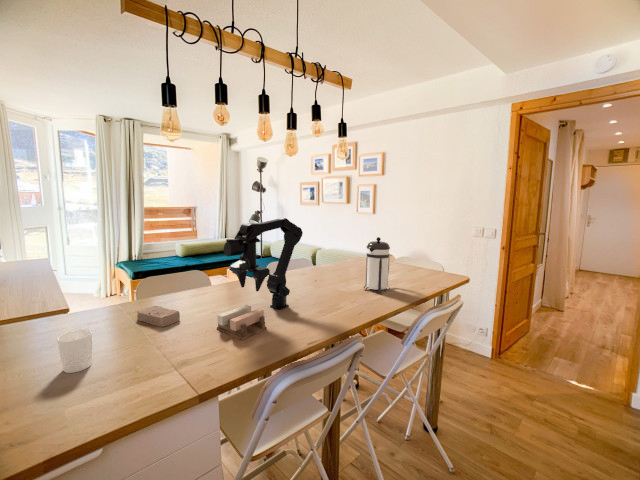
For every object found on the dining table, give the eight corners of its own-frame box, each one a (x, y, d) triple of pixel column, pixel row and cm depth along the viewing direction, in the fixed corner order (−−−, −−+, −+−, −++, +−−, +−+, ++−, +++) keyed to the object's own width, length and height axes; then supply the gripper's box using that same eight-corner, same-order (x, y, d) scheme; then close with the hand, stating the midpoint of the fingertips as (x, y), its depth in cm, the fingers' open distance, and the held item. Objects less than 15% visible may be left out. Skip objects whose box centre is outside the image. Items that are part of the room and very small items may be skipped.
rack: (241, 319, 127) (241, 307, 127) (266, 328, 119) (266, 316, 118) (216, 329, 118) (216, 316, 117) (242, 340, 109) (241, 326, 108)
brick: (136, 320, 125) (135, 309, 125) (155, 314, 133) (154, 303, 132) (162, 329, 118) (162, 317, 117) (181, 321, 125) (180, 310, 125)
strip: (246, 312, 126) (246, 304, 126) (251, 314, 125) (251, 306, 124) (217, 323, 115) (217, 314, 115) (222, 325, 113) (222, 316, 113)
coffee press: (394, 294, 164) (397, 239, 160) (365, 293, 165) (367, 238, 161) (387, 284, 182) (390, 235, 178) (361, 284, 182) (362, 234, 178)
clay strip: (258, 317, 122) (258, 308, 122) (264, 318, 120) (263, 310, 120) (230, 328, 111) (229, 319, 110) (235, 331, 109) (235, 321, 108)
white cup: (73, 360, 94) (70, 329, 93) (100, 359, 95) (97, 329, 93) (53, 375, 86) (49, 341, 85) (83, 374, 87) (79, 341, 86)
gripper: (219, 253, 126) (220, 289, 128) (249, 259, 116) (250, 298, 118) (240, 249, 135) (241, 283, 137) (270, 254, 124) (270, 291, 127)
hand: (250, 289), depth 130 cm, fingers open, 9 cm apart
